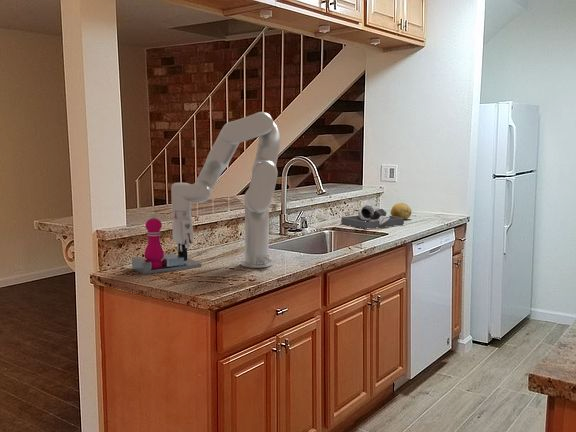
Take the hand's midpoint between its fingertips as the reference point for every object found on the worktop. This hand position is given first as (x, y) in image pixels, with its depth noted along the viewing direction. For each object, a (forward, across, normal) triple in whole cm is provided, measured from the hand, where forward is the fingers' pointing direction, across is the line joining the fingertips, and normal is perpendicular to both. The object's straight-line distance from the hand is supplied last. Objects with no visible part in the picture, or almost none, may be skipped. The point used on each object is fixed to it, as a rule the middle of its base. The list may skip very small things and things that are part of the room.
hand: (182, 260), depth 233 cm
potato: (+4, +42, -164) cm, 169 cm away
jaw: (0, 0, +5) cm, 5 cm away
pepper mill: (+1, 0, +12) cm, 12 cm away
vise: (+2, 0, +7) cm, 7 cm away
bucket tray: (+3, +36, -135) cm, 140 cm away
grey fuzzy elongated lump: (+3, +36, -135) cm, 140 cm away
